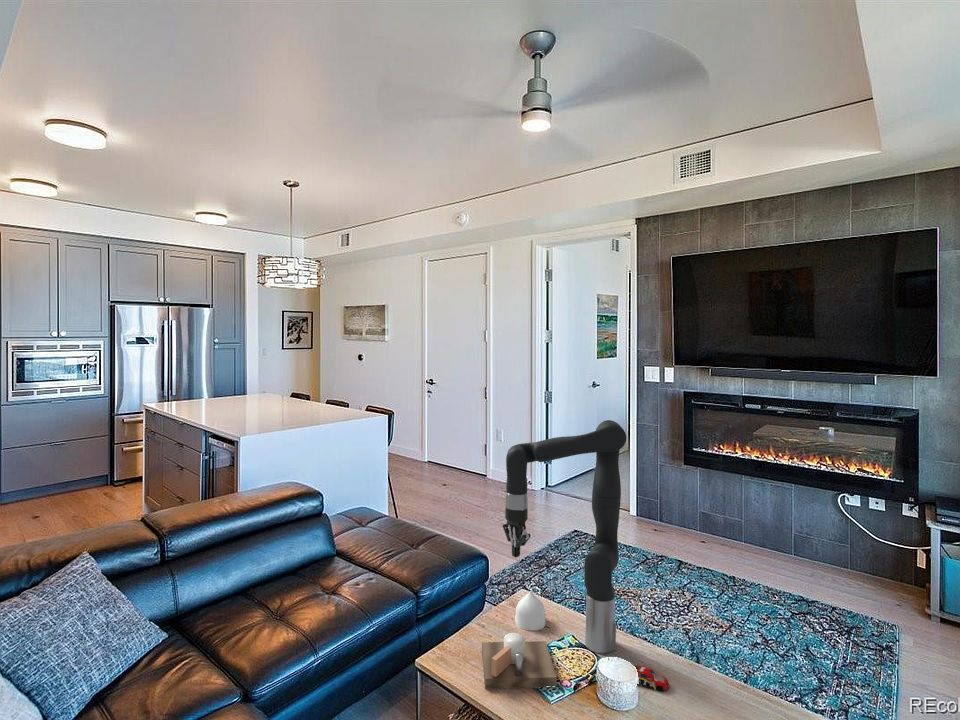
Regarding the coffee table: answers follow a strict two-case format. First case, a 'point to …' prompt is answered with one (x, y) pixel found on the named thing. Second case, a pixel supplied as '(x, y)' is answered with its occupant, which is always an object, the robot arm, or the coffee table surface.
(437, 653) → the coffee table surface
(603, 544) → the robot arm
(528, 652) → the base
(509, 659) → the white cylinder with panel
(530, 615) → the teardrop
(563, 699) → the coffee table surface
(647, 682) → the race car
